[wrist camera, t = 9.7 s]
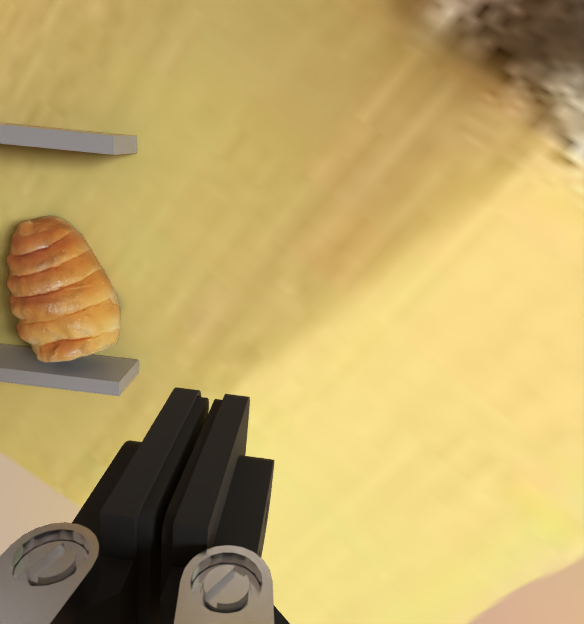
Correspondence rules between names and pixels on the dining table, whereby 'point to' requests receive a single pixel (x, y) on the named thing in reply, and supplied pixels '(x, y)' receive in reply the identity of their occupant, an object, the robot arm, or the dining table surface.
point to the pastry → (60, 292)
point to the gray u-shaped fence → (22, 360)
